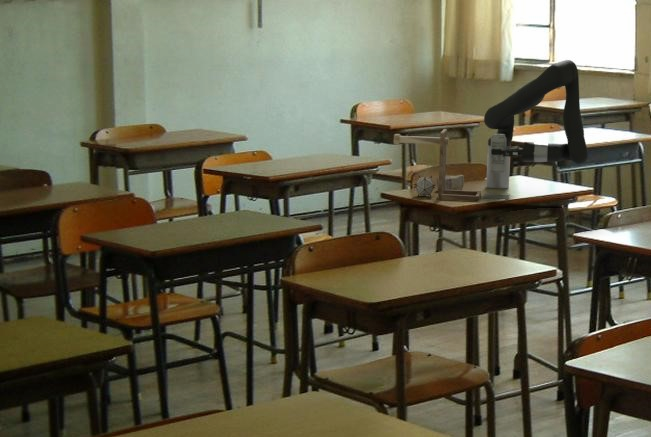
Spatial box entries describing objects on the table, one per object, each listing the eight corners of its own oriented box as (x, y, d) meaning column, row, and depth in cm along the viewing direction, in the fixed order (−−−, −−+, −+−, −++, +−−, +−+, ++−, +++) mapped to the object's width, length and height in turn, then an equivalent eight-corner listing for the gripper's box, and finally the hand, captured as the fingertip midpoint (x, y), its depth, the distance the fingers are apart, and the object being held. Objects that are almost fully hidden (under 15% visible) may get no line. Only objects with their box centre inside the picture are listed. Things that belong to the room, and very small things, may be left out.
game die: (427, 205, 481) (441, 184, 482) (427, 200, 472) (441, 179, 473) (408, 192, 482) (422, 172, 483) (407, 188, 474) (422, 167, 475)
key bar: (395, 143, 479) (395, 133, 478) (448, 145, 475) (449, 136, 475) (393, 144, 475) (393, 135, 474) (447, 146, 471) (448, 137, 470)
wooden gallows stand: (441, 194, 483) (443, 128, 479) (480, 196, 481) (483, 130, 476) (438, 199, 471) (440, 132, 466) (478, 201, 468) (481, 134, 463)
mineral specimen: (456, 188, 501) (456, 173, 500) (466, 190, 495) (466, 175, 494) (430, 189, 495) (430, 174, 494) (440, 192, 489) (440, 177, 488)
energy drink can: (506, 172, 479) (508, 134, 476) (503, 174, 473) (504, 135, 471) (491, 171, 481) (492, 133, 478) (488, 173, 475) (489, 134, 473)
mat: (484, 194, 485) (484, 193, 485) (509, 195, 483) (509, 194, 483) (482, 198, 475) (482, 197, 475) (508, 199, 473) (508, 198, 473)
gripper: (536, 140, 479) (493, 139, 482) (535, 144, 465) (490, 143, 468) (535, 159, 480) (492, 158, 484) (534, 164, 467) (490, 162, 470)
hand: (492, 150), depth 476 cm, fingers closed on energy drink can, 6 cm apart
